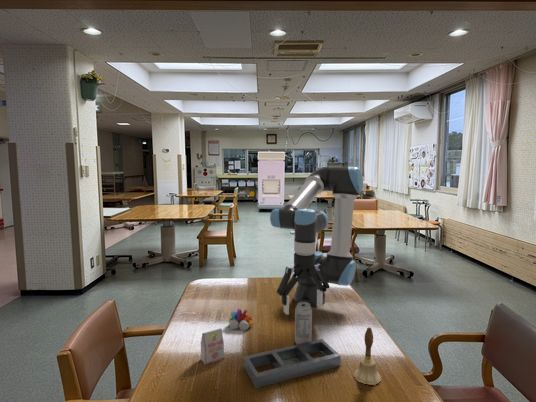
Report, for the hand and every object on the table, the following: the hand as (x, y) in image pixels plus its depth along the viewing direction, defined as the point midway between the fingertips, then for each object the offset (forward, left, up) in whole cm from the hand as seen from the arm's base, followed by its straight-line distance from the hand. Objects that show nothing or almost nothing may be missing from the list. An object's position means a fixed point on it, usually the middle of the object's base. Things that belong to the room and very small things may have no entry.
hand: (303, 310), depth 124 cm
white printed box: (+33, -3, -13) cm, 35 cm away
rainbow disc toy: (+17, -22, -13) cm, 30 cm away
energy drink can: (0, 0, -13) cm, 13 cm away
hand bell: (-9, +25, -13) cm, 30 cm away
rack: (+10, +11, -13) cm, 19 cm away
